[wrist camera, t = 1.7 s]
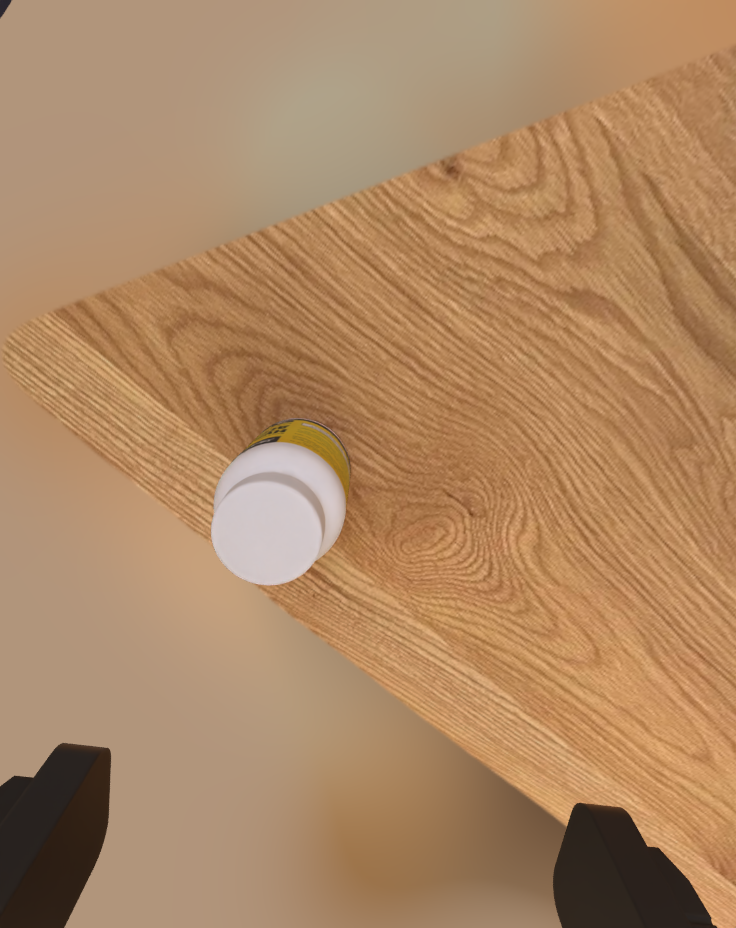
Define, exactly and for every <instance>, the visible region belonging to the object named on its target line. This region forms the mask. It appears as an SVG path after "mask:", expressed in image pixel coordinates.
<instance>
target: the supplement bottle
mask: <svg viewBox="0 0 736 928" xmlns="http://www.w3.org/2000/svg"><path fill="white" fill-rule="evenodd" d="M349 483H350V460H349V456H348V453H347V450H346V448H345V446H344V444H343V443H342V441H341V440H340V438H339V437H338V436H337V435H336V434H335V433H334V432H333V431H332V430H331V429H329V428H328V427H326V426H324V425H323V424H321V423H319V422H316V421H313V420H310V419H304V418H292V419H286V420H283V421H280V422H277V423H275V424H273V425H271V426H270V427H268V428H267V429H266V430H264V431H263V432H262V433H261V434H260V435H259V436H258V437H257V438H256V439H255V440H254V441H253V442H252V443H251V444H250V445H249V446H248V447H247V448H246V449H245V450H244V451H243V452H242V453H240V454H239V455H238V456H237V457H236V458H235V459H234V460H233V461H232V462H231V463H230V465H229V466H228V467H227V468H226V470H225V471H224V473H223V474H222V476H221V478H220V480H219V482H218V485H217V487H216V490H215V496H214V515H213V519H212V524H211V538H212V543H213V547H214V550H215V552H216V554H217V556H218V557H219V559H220V560H221V562H222V563H223V564H224V565H225V567H226V568H227V569H229V570H230V571H231V572H232V573H233V574H235V575H236V576H238V577H240V578H241V579H243V580H245V581H248V582H251V583H254V584H259V585H279V584H283V583H287V582H290V581H292V580H294V579H296V578H298V577H300V576H301V575H302V574H304V573H305V572H306V571H307V570H308V569H309V568H310V567H311V566H312V565H313V563H314V562H315V561H316V560H318V559H319V558H320V557H322V556H323V555H324V554H325V553H326V552H327V551H328V550H329V549H330V548H331V547H332V546H333V544H334V543H335V542H336V540H337V538H338V536H339V534H340V532H341V530H342V527H343V524H344V520H345V515H346V509H347V499H348V490H349Z"/></svg>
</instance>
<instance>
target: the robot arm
mask: <svg viewBox="0 0 736 928" xmlns="http://www.w3.org/2000/svg"><path fill="white" fill-rule="evenodd" d="M110 768H111V753H110V750H109V748H102V747H93V746H84V745H76V744H67V743H62V744H60V745H58V746H57V747H56V748H55V749H54V751H53V752H52V753H51V755H50V756H49V757H48V759H47V760H46V761H45V763H44V764H43V766H42V767H41V768H40V770H39V771H38V772H37V774H36V775H35V777H34V778H31V777H21V776H14V777H12V778H11V779H9V780H8V781H7V782H5V783H4V784H3V785H1V786H0V928H64V927H65V925H66V923H67V921H68V919H69V917H70V915H71V913H72V911H73V908H74V907H75V905H76V903H77V900H78V899H79V897H80V894H81V892H82V890H83V889H84V886H85V884H86V882H87V880H88V878H89V876H90V874H91V872H92V870H93V868H94V866H95V864H96V861H97V859H98V857H99V854H100V852H101V849H102V846H103V842H104V839H105V835H106V830H107V825H108V818H109V793H110ZM553 889H554V899H555V905H556V908H557V913H558V916H559V919H560V922H561V925H562V928H717V927H716V926H713V924H712V922H711V917H710V915H709V913H708V912H707V910H706V908H705V907H704V905H703V903H702V901H701V900H700V898H699V896H698V895H697V893H696V891H695V890H694V888H693V886H692V885H691V883H690V881H689V880H688V879H687V878H686V877H685V876H684V875H683V874H682V873H681V871H680V870H679V869H678V868H677V867H676V866H675V865H674V864H673V863H672V862H671V861H670V860H669V859H668V858H667V857H666V855H665V854H664V853H663V852H662V851H661V850H660V849H659V848H656V847H647V845H646V843H645V841H644V839H643V838H642V836H641V834H640V832H639V831H638V829H637V827H636V825H635V823H634V822H633V820H632V818H631V817H630V815H629V814H628V813H627V811H625V810H624V809H623V808H621V807H612V806H603V805H594V804H585V803H577V804H576V805H575V806H574V808H573V810H572V813H571V816H570V819H569V822H568V826H567V829H566V832H565V835H564V839H563V842H562V845H561V849H560V852H559V855H558V858H557V862H556V865H555V869H554V876H553Z"/></svg>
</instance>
